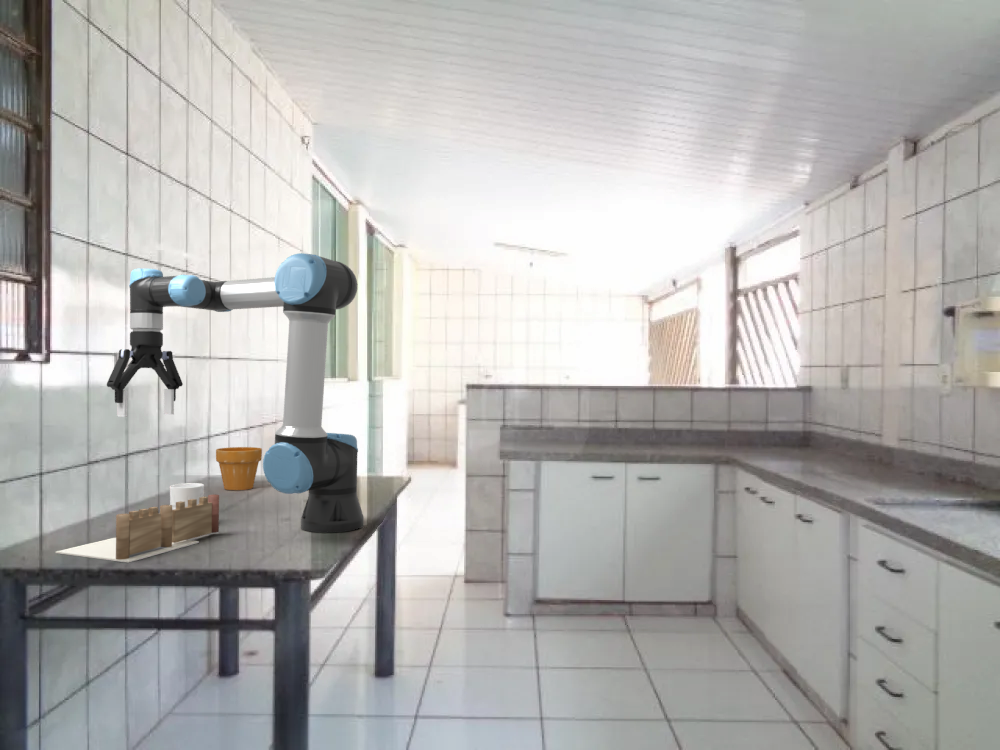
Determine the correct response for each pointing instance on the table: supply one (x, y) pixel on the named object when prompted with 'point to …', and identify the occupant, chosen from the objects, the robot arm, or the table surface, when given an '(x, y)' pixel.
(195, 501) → the swing panel
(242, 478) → the flower pot
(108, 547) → the card
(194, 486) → the white cup
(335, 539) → the table surface
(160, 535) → the wooden castle wall
